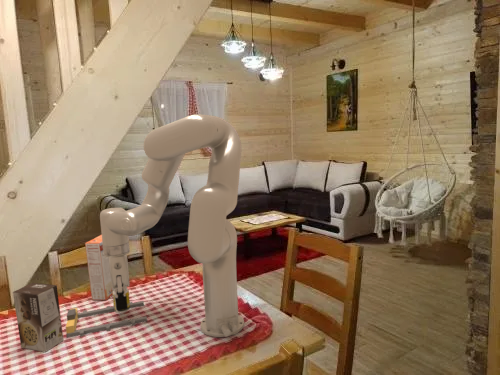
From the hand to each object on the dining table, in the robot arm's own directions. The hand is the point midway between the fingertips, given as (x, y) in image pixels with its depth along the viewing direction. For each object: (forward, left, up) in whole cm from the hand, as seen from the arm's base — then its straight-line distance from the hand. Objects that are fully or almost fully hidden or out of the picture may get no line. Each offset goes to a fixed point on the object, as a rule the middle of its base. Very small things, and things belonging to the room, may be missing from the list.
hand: (121, 304), depth 115 cm
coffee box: (-7, +21, -4) cm, 23 cm away
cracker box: (+22, +4, -4) cm, 23 cm away
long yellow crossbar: (0, +14, -4) cm, 15 cm away
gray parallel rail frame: (0, +4, -4) cm, 6 cm away
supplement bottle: (0, 0, -2) cm, 2 cm away
